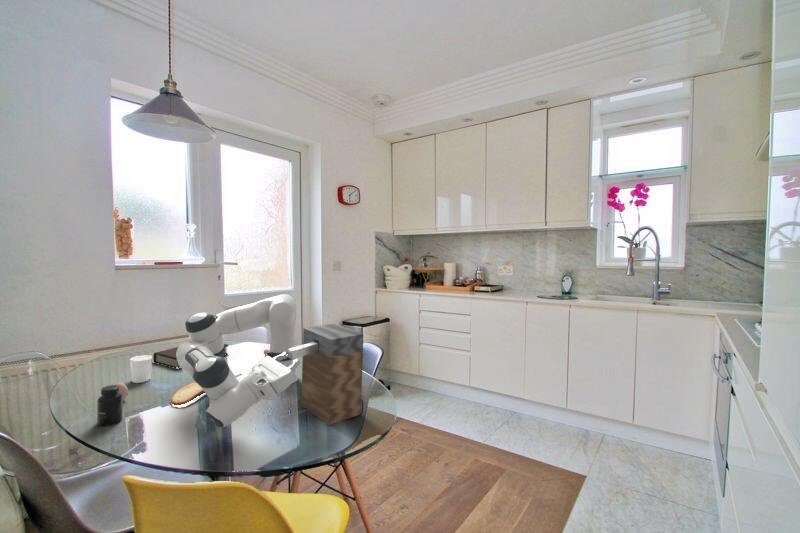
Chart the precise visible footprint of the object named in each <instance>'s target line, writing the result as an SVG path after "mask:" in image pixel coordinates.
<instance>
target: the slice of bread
mask: <svg viewBox="0 0 800 533" xmlns="http://www.w3.org/2000/svg"><path fill="white" fill-rule="evenodd" d="M203 393H205V392H204V391H203V389H202V388H201V387H200V386H199V385H198V384H197V383H196V381H193V382H191V383H189V384H187V385H185V386H183V387H181V388H179V389H178V390H177V391H176V392H175V393H174V395H173V396H172V397H171V400H170V404H171V403H172V404H174V405H181V404H185V403H187V402H189V401H191V400H193V399H194V398H196V397H197V396H200V395H201V394H203Z"/></svg>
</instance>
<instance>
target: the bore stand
mask: <svg viewBox="0 0 800 533" xmlns="http://www.w3.org/2000/svg"><path fill="white" fill-rule="evenodd" d="M302 330H303V331H302V333H303V335H302V336H303V337H302V345H304V344H307V343H311V342H314V341H319V351H318V352H315V353H312V354H308V355H305V356H302V370H301V371H302V373H301V376H302V377H301V406H302V405H303V406H304V407H305V408H304V407H303V406H302V407H303V408H304V409H306V408H307V409H308V410H309V411H308V410H307V409H306V410H307V411H308V412H310V411H311V412H312V413H313V414H312V413H311V412H310V413H311V414H312V415H314V416H315V417H317V418H318V420H320V421H322V422H323V423H324V422H325V423H324V424H325V425H327V424H328V425H329V426H331V425H330V424H332V425H334V423H335V424H337V422H338V423H340V422H343V421H345V420H348V419H351V418H353V417H357V416H359V415H361V414H362V411H361V410H362V388H363V386H362V385H363V383H362V382H363V364H364V363H363V358H364V356H363V355H364V333H361V332H359V331H356V330H354V329H350V328H347V327H345V326H343V325H339V324H336V323H331V324H323V325H316V326H310V327H303V329H302ZM328 425H327V426H328Z"/></svg>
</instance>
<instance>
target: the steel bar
mask: <svg viewBox="0 0 800 533" xmlns="http://www.w3.org/2000/svg"><path fill="white" fill-rule="evenodd" d="M318 351H319V341H314V342H311V343H307V344H304V345H303V344H300V345H297V346H295V347H294V348H290V349H288V355H289V358H291V359H298V358H303V356H305V355H308V354H312V353H315V352H318Z"/></svg>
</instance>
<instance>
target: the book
mask: <svg viewBox="0 0 800 533" xmlns="http://www.w3.org/2000/svg"><path fill="white" fill-rule="evenodd" d="M224 344H225V346H226V348H227V347H229V344H227V343H224ZM178 348H179V346H176V347H172V348H168V349H166V350H161V351H157V352H154V353H153V356H152V361H153V363H154V362H155V363H154V364H156V363H159V364H158V365H160V364H163V365H167V366H170V367H174V368H176V367H178V368H179V367H180V365H179V363H178V361H177V357H176V352H177V349H178ZM225 354H228V355H229V353H227V352H226V353H225ZM225 354H224V355H225ZM225 356H226V355H225ZM163 365H162V366H163ZM167 366H166V367H167ZM170 367H169V368H170ZM174 368H173V369H174Z"/></svg>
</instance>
